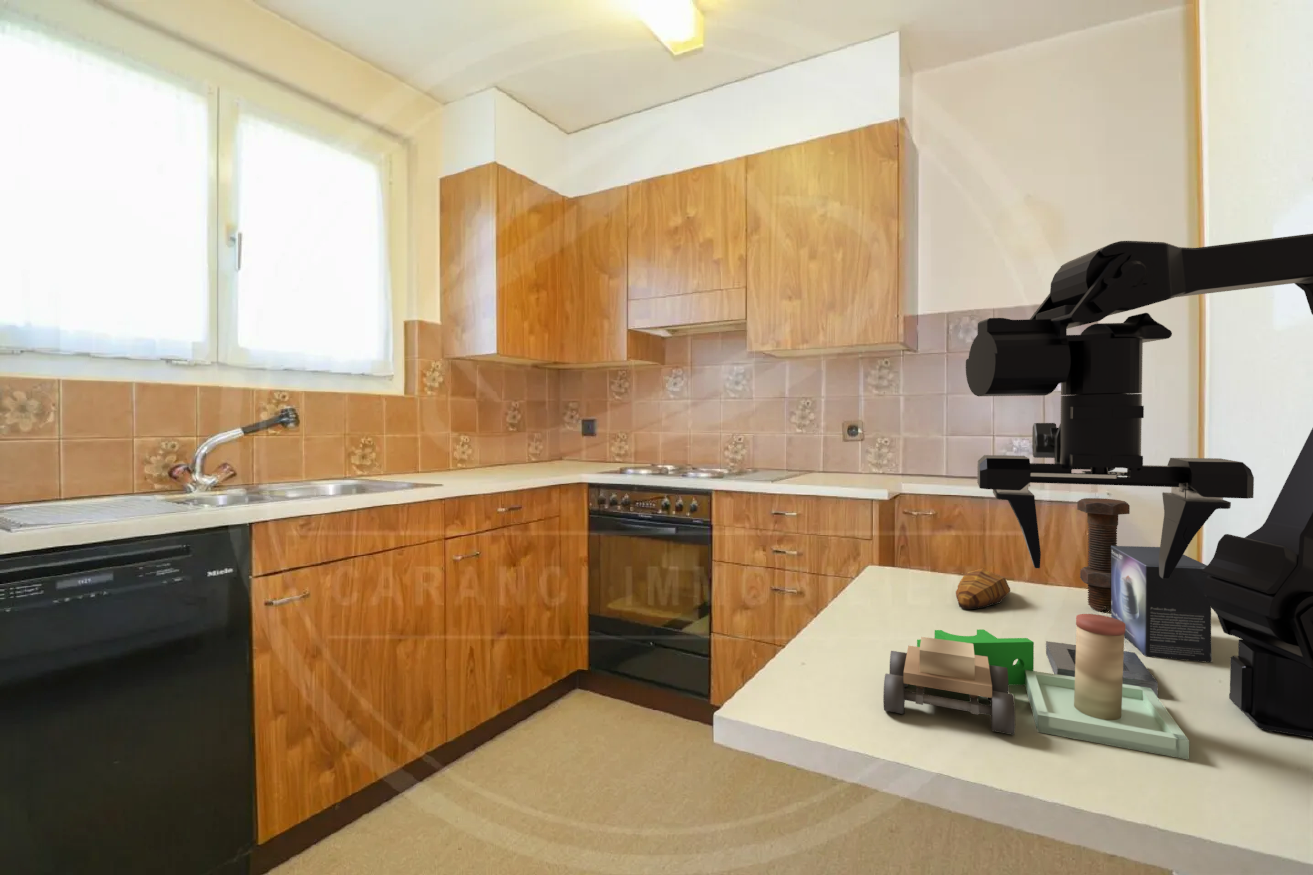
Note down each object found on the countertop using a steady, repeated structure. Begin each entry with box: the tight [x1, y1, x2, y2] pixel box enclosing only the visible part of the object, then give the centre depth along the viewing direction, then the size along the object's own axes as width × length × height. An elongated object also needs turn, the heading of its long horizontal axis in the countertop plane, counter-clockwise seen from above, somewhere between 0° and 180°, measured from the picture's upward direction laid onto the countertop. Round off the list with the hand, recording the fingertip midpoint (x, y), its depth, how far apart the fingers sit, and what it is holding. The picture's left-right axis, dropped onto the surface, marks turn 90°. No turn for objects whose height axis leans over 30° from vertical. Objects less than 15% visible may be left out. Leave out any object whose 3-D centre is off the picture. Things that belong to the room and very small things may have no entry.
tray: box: [1024, 670, 1190, 760], centre depth 54 cm, size 10×10×2 cm
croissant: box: [955, 567, 1011, 610], centre depth 88 cm, size 14×7×5 cm, turn 131°
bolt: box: [1076, 497, 1131, 613], centre depth 83 cm, size 6×5×15 cm
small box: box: [1110, 545, 1213, 663], centre depth 71 cm, size 11×6×10 cm, turn 161°
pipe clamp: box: [916, 629, 1035, 686], centre depth 62 cm, size 11×4×5 cm, turn 90°
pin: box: [1074, 613, 1125, 720], centre depth 54 cm, size 4×4×8 cm
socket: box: [1045, 641, 1159, 697], centre depth 63 cm, size 8×8×1 cm
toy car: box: [882, 636, 1016, 736], centre depth 56 cm, size 10×9×6 cm
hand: (1097, 572), depth 53 cm, fingers open, 9 cm apart
